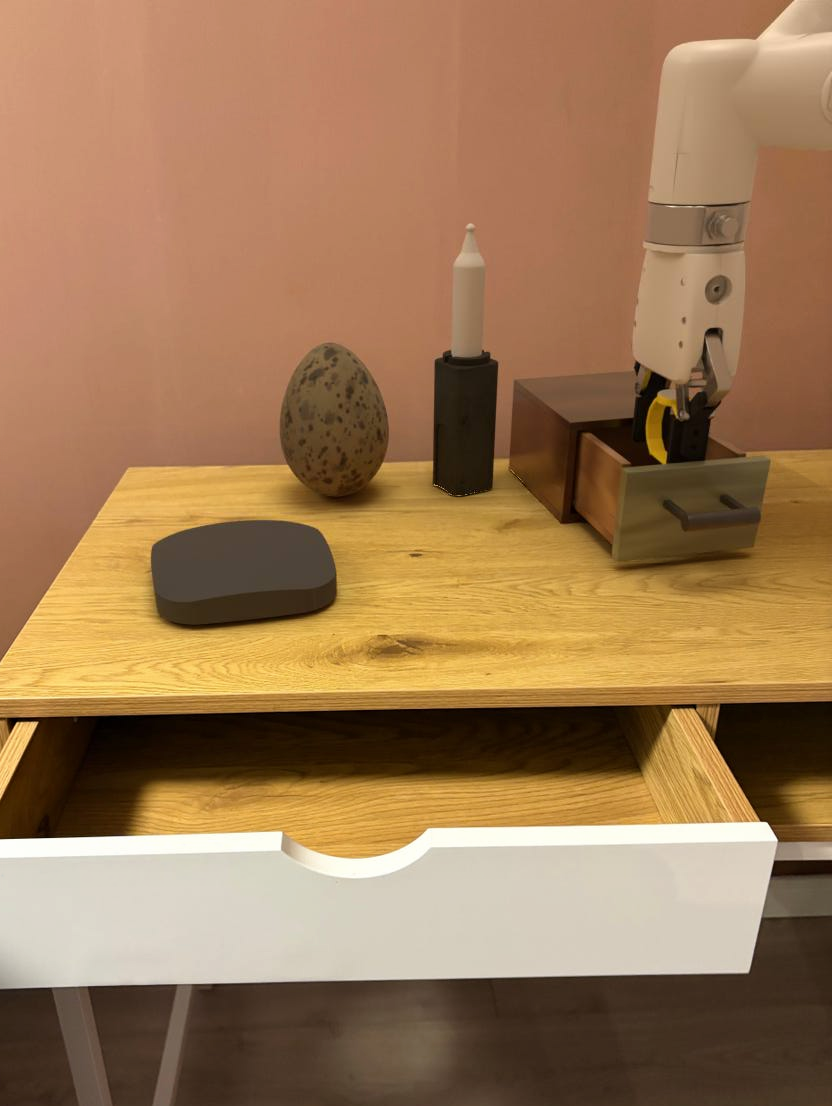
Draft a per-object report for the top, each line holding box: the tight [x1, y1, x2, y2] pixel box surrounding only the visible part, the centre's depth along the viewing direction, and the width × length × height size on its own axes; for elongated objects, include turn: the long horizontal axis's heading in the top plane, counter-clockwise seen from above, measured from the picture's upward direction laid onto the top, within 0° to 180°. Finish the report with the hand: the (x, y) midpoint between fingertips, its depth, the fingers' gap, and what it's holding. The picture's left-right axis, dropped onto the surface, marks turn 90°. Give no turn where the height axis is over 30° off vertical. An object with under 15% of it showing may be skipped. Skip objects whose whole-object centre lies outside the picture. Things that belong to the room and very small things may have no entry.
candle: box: [432, 223, 499, 495], centre depth 94 cm, size 5×5×25 cm
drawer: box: [571, 423, 772, 562], centre depth 84 cm, size 19×12×8 cm, turn 10°
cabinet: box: [508, 370, 676, 524], centre depth 96 cm, size 16×14×10 cm
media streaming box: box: [150, 519, 338, 626], centre depth 80 cm, size 15×15×3 cm
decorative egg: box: [279, 342, 390, 497], centre depth 95 cm, size 11×11×15 cm
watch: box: [646, 388, 693, 464], centre depth 83 cm, size 6×3×6 cm, turn 11°
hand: (666, 450), depth 84 cm, fingers closed on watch, 6 cm apart
